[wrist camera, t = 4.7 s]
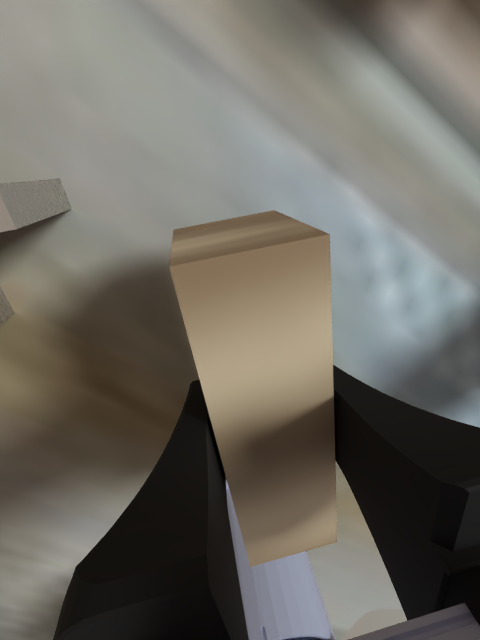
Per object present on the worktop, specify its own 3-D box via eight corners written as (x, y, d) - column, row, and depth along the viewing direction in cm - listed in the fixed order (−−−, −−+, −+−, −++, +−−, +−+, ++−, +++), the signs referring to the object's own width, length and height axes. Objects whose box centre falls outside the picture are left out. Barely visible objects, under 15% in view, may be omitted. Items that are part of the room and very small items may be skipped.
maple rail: (298, 449, 16) (337, 541, 12) (232, 467, 16) (250, 567, 12) (274, 210, 11) (329, 234, 7) (173, 229, 10) (168, 266, 6)
